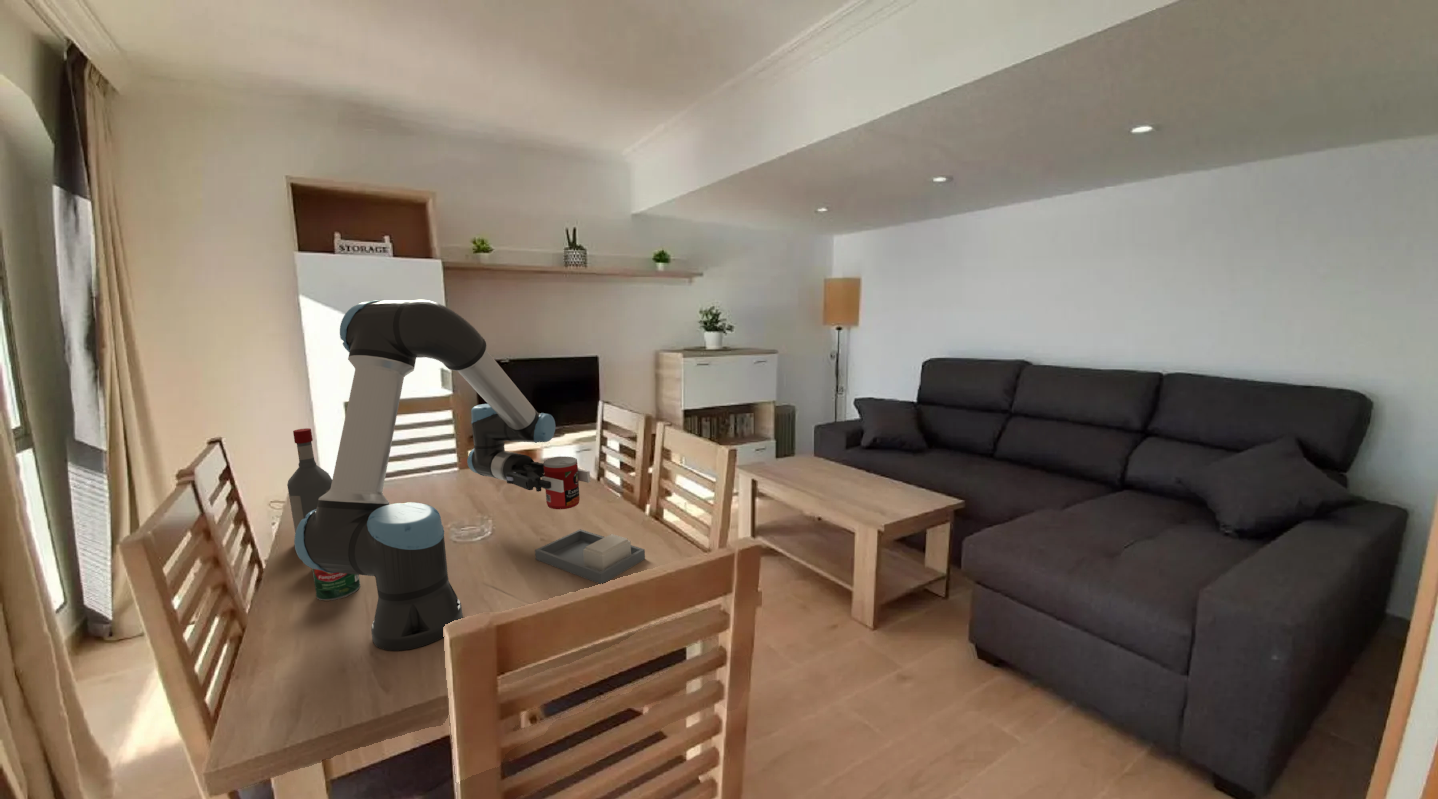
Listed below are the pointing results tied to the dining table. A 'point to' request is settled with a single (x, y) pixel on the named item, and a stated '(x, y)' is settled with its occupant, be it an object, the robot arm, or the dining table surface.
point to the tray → (571, 556)
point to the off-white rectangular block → (606, 552)
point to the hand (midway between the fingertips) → (575, 481)
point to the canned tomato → (334, 584)
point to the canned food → (569, 475)
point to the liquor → (306, 479)
